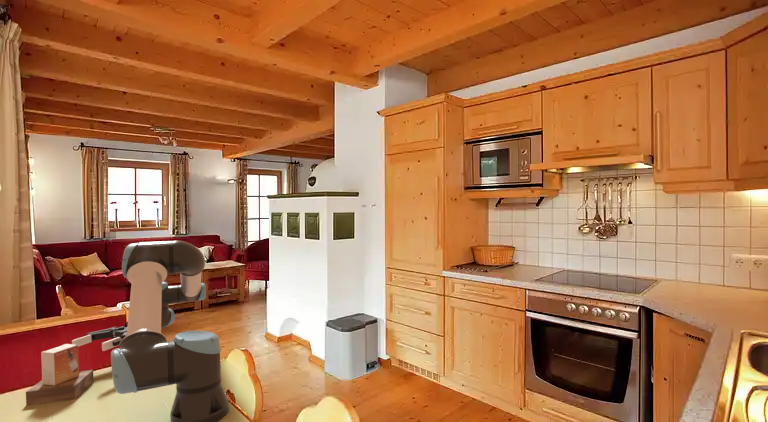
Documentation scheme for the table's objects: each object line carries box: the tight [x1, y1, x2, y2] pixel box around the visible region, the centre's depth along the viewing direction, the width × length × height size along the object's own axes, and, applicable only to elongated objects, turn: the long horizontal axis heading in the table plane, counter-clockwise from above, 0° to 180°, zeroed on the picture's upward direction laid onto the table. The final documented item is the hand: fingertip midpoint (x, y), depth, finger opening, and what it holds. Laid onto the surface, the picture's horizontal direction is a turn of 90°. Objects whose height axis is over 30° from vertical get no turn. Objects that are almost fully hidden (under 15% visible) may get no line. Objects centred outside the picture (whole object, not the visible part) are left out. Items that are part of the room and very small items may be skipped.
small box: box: [40, 343, 80, 386], centre depth 133 cm, size 8×6×10 cm
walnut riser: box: [25, 369, 95, 406], centre depth 133 cm, size 13×13×4 cm
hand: (87, 345), depth 142 cm, fingers open, 13 cm apart
